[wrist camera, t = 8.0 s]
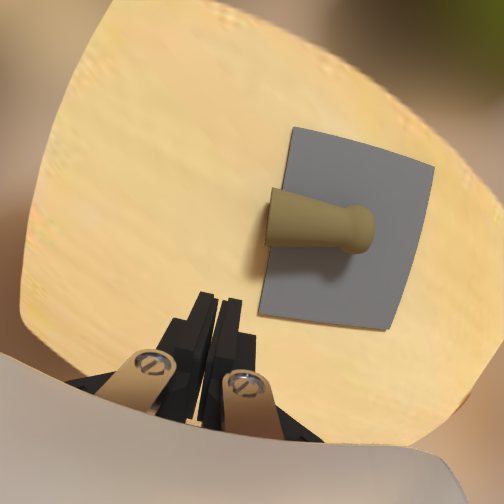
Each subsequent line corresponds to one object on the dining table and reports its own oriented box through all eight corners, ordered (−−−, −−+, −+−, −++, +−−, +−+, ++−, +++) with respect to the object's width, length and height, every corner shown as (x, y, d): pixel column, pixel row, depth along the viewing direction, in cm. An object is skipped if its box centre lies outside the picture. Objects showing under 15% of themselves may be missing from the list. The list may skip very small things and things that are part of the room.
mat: (387, 327, 37) (389, 329, 36) (258, 311, 36) (258, 313, 36) (432, 166, 30) (434, 167, 30) (293, 127, 30) (293, 126, 30)
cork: (264, 243, 33) (357, 256, 33) (265, 250, 27) (376, 264, 27) (271, 189, 33) (364, 204, 32) (273, 184, 27) (385, 203, 26)
